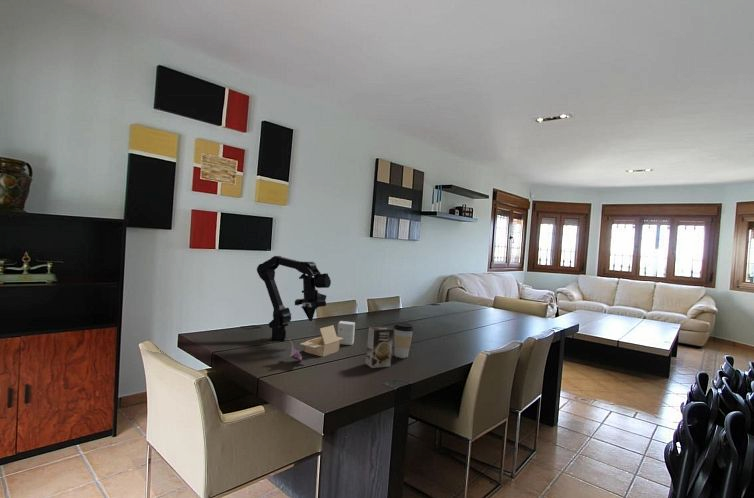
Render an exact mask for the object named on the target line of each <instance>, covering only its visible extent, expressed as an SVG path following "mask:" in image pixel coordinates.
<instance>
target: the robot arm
mask: <svg viewBox="0 0 754 498" xmlns="http://www.w3.org/2000/svg"><path fill="white" fill-rule="evenodd" d="M279 266H282V267H287V268H291V269H295V270H296V271H297V272H299V273H301V275H299V277H298V279H299V280H302V285H303V286H302V287H303V290H301V293H302V294H303V298H297V299H295V300H294V306H299V305H302V306H301V308H302V310H303V312H304V313H305V316H306V317H307V320H308V321H309V322H313V318H314V316H315V312H316V310H317V309H318V308H321V307H326V306H327V302H326V299H327V295H326V294H322V293H320V292H319V290H318V289H324V288H325V289H328V288H330V286H331V283H332V279H331V277H330V275H329V273H328V272H326V273H325V272H324V273H321V271H320V270H319V269H318V267H317V264H316V262H315V261H300V260H296V259H292V258H287V257H284V256H281V255H273V256H272V257H270V258H269V259H268V260H266V261H264V262H262V263H260V264H258V265H257V267H256V273H257V274H258V277H259V278H260V280H262V281H263V282H264V284H265V287H266V288H265V289H266V290H267V294H268V296H269V299H270V302H271V305H272V309H273V312H272V320H271V321H269V323H268V327H269V328H270V329H271V333H270V341H272V342H277V341H278V342H279V341H280V342H284V341H286V337H287V330H286V327H288V326H289V323H290V322H291V320H292V313H291V311H290V307H285V305H284V303H283V301H282V298H281V294H280V292H279V289H278V286H277V282H276V280H275V276H276V271H275V270H276V269H278V268H279ZM316 288H317V289H316Z"/></svg>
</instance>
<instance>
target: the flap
mask: <svg viewBox="0 0 754 498" xmlns="http://www.w3.org/2000/svg"><path fill="white" fill-rule="evenodd" d="M319 331H320V333H321V337H322V338H323V341H324V344H325V345H326V344H329V343H333V342H336V341H338V338H337V332H336V330H335V327H334V325H332V324H331V325H329V326H325V327H321V328H319Z"/></svg>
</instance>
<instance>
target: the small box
mask: <svg viewBox="0 0 754 498" xmlns="http://www.w3.org/2000/svg"><path fill="white" fill-rule="evenodd" d="M355 329H356V322H355V321H346V320H345V321H344V320H340V321H339V322H338V323H337V332H336V335H337V337H341V338H344V339H342V340H338V341H340V345H345V346H353V344H354V343H355V332H356V331H355Z"/></svg>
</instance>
